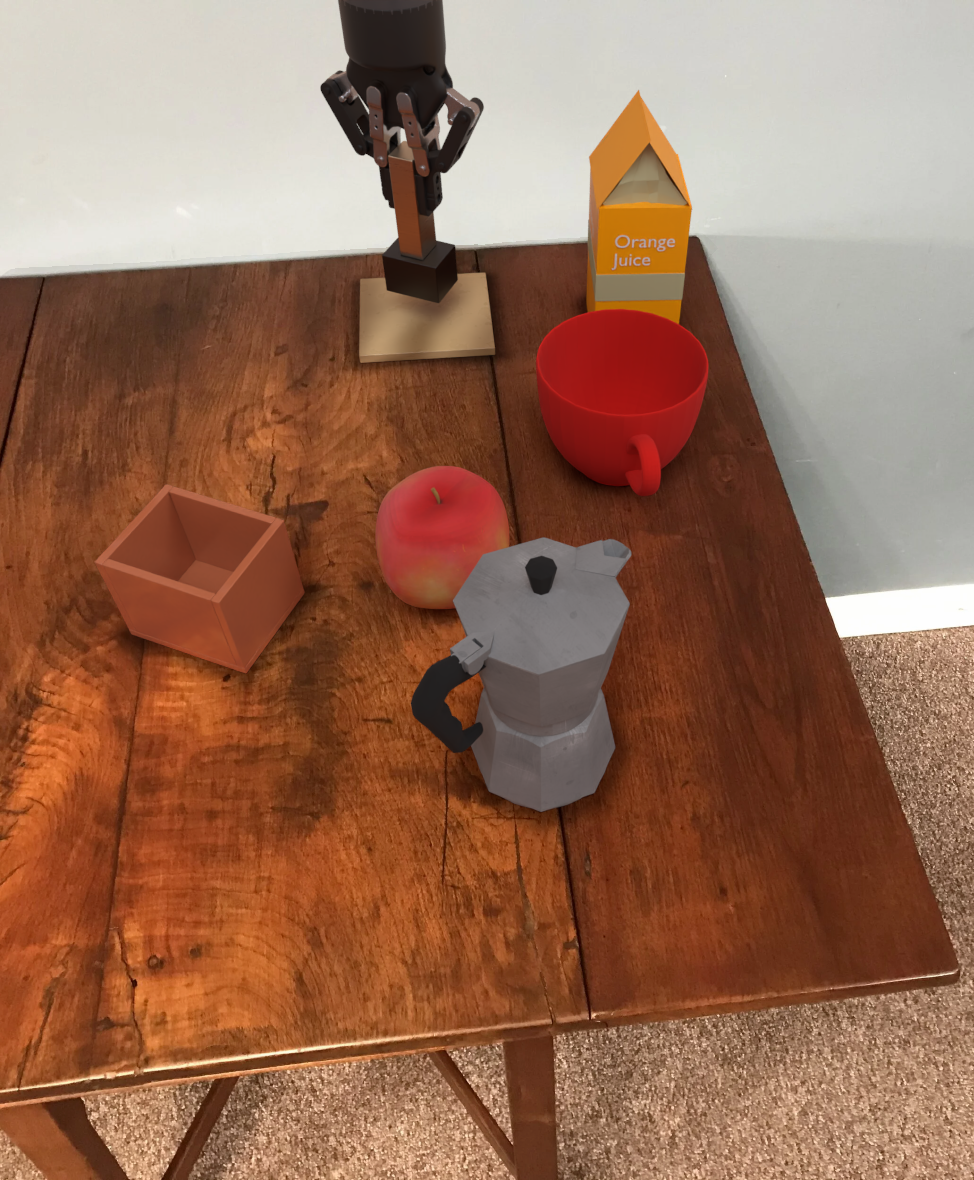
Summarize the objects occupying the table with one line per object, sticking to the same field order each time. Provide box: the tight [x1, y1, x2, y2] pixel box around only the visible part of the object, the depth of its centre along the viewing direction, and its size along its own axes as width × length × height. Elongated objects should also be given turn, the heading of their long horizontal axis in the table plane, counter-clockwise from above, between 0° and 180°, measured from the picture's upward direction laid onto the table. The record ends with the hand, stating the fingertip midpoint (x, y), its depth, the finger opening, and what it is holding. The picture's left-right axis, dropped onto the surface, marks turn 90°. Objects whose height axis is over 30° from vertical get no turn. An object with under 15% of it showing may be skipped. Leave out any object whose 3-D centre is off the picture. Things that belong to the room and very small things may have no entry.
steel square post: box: [381, 140, 458, 303], centre depth 88 cm, size 5×4×13 cm
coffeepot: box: [410, 536, 632, 813], centre depth 59 cm, size 15×9×18 cm, turn 135°
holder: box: [94, 483, 306, 674], centre depth 70 cm, size 9×8×8 cm
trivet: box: [358, 272, 496, 364], centre depth 95 cm, size 12×12×1 cm
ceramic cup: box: [535, 309, 709, 497], centre depth 79 cm, size 13×17×10 cm
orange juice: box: [585, 89, 693, 325], centre depth 88 cm, size 8×9×20 cm
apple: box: [374, 465, 511, 610], centre depth 71 cm, size 10×10×10 cm
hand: (413, 207), depth 87 cm, fingers closed on steel square post, 2 cm apart
